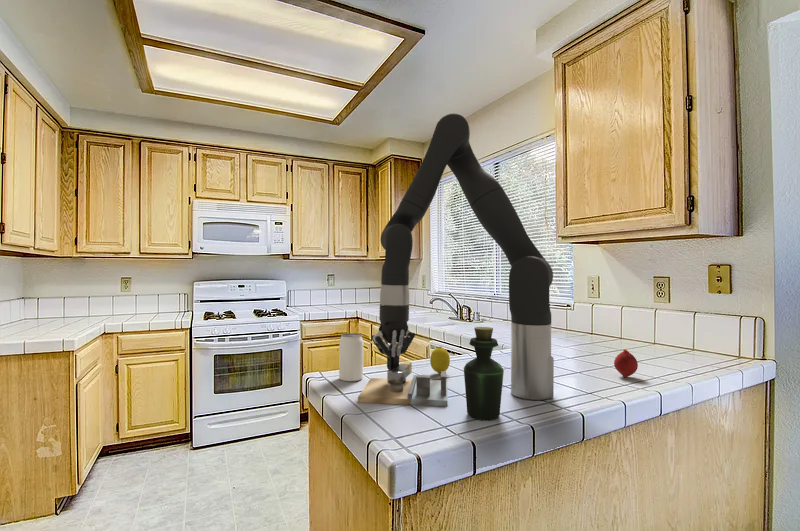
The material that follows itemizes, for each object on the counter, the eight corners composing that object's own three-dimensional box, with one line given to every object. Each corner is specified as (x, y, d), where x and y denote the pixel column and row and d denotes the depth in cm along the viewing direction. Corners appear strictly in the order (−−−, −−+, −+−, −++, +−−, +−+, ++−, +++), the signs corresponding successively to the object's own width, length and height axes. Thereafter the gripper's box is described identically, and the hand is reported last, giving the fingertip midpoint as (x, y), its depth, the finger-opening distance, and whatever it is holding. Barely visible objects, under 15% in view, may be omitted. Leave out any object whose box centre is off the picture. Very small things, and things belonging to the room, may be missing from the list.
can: (358, 382, 109) (359, 337, 109) (335, 381, 110) (336, 336, 110) (365, 376, 115) (366, 333, 115) (343, 375, 116) (344, 332, 116)
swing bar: (403, 385, 95) (403, 374, 95) (384, 383, 96) (385, 372, 96) (415, 372, 107) (415, 362, 107) (398, 371, 108) (398, 361, 108)
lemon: (428, 372, 120) (429, 344, 120) (447, 371, 121) (447, 344, 121) (431, 377, 115) (432, 348, 115) (451, 376, 115) (451, 348, 115)
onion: (638, 376, 117) (638, 348, 117) (637, 381, 112) (637, 351, 112) (615, 373, 120) (615, 346, 120) (613, 377, 115) (613, 349, 115)
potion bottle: (512, 417, 84) (512, 329, 84) (482, 425, 80) (483, 332, 80) (483, 406, 91) (484, 324, 91) (455, 413, 86) (455, 327, 86)
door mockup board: (447, 385, 107) (447, 364, 107) (447, 406, 91) (447, 381, 91) (370, 382, 109) (371, 361, 109) (358, 402, 93) (358, 377, 93)
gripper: (405, 301, 112) (403, 364, 112) (364, 302, 104) (362, 371, 104) (423, 303, 106) (421, 370, 106) (382, 304, 98) (380, 377, 98)
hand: (392, 370), depth 105 cm, fingers closed
